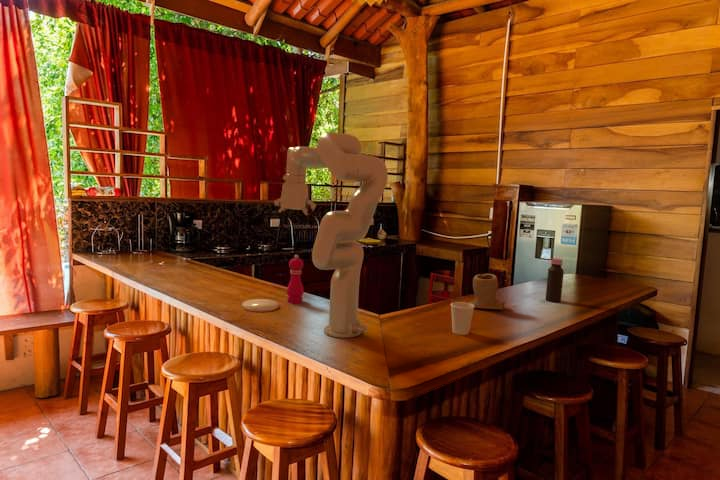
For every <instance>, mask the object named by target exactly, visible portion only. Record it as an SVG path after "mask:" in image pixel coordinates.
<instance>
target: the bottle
mask: <svg viewBox="0 0 720 480" xmlns="http://www.w3.org/2000/svg"><path fill="white" fill-rule="evenodd" d="M550 265H551V266H550V267H549V268H548V269H547V280H546V292H545V300H546V302H551V303H561V301H562V294H563V293H562V292H563V282H564V271H565V270H564V269H563V268H562V266H563V259H562V258H551V262H550Z"/></svg>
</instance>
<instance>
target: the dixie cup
mask: <svg viewBox="0 0 720 480" xmlns="http://www.w3.org/2000/svg"><path fill="white" fill-rule="evenodd" d="M474 307H475V306H474V305H473V304H470V303H469V302H464V301H453V302H451V303H450V308H451V310H450V311H451V328H452V333H453V334H455V335H460V336H467V335H469V334H470V329H471V324H472V319H473V315H474V309H475V308H474Z"/></svg>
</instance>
